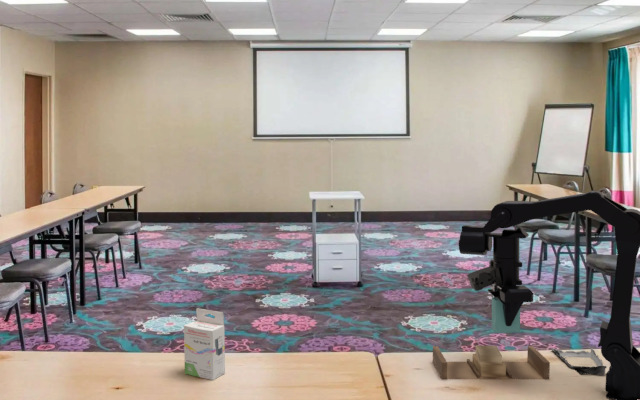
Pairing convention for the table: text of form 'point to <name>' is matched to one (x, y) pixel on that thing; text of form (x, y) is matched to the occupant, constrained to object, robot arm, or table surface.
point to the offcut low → (489, 369)
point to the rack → (531, 369)
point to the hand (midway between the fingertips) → (506, 323)
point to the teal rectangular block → (503, 319)
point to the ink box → (205, 345)
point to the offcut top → (488, 355)
